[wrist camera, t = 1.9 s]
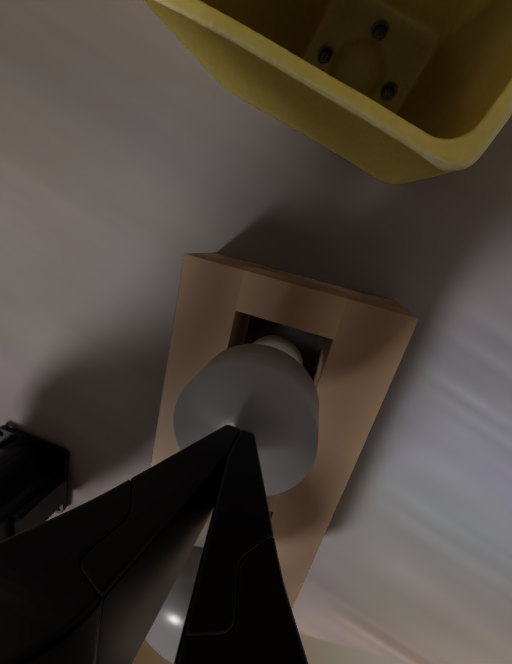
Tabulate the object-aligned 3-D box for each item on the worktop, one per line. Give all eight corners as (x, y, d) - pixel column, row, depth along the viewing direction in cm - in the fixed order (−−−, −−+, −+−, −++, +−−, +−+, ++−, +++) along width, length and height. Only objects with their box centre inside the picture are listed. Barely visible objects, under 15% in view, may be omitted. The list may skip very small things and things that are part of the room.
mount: (170, 491, 22) (138, 541, 18) (215, 252, 17) (184, 253, 13) (298, 543, 21) (292, 607, 17) (395, 301, 15) (419, 318, 11)
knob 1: (189, 526, 18) (132, 644, 13) (202, 471, 17) (144, 578, 11) (257, 554, 18) (227, 690, 12) (275, 500, 16) (251, 626, 11)
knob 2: (222, 388, 15) (164, 466, 10) (240, 307, 14) (185, 345, 8) (304, 416, 14) (293, 517, 9) (332, 334, 13) (339, 395, 8)
